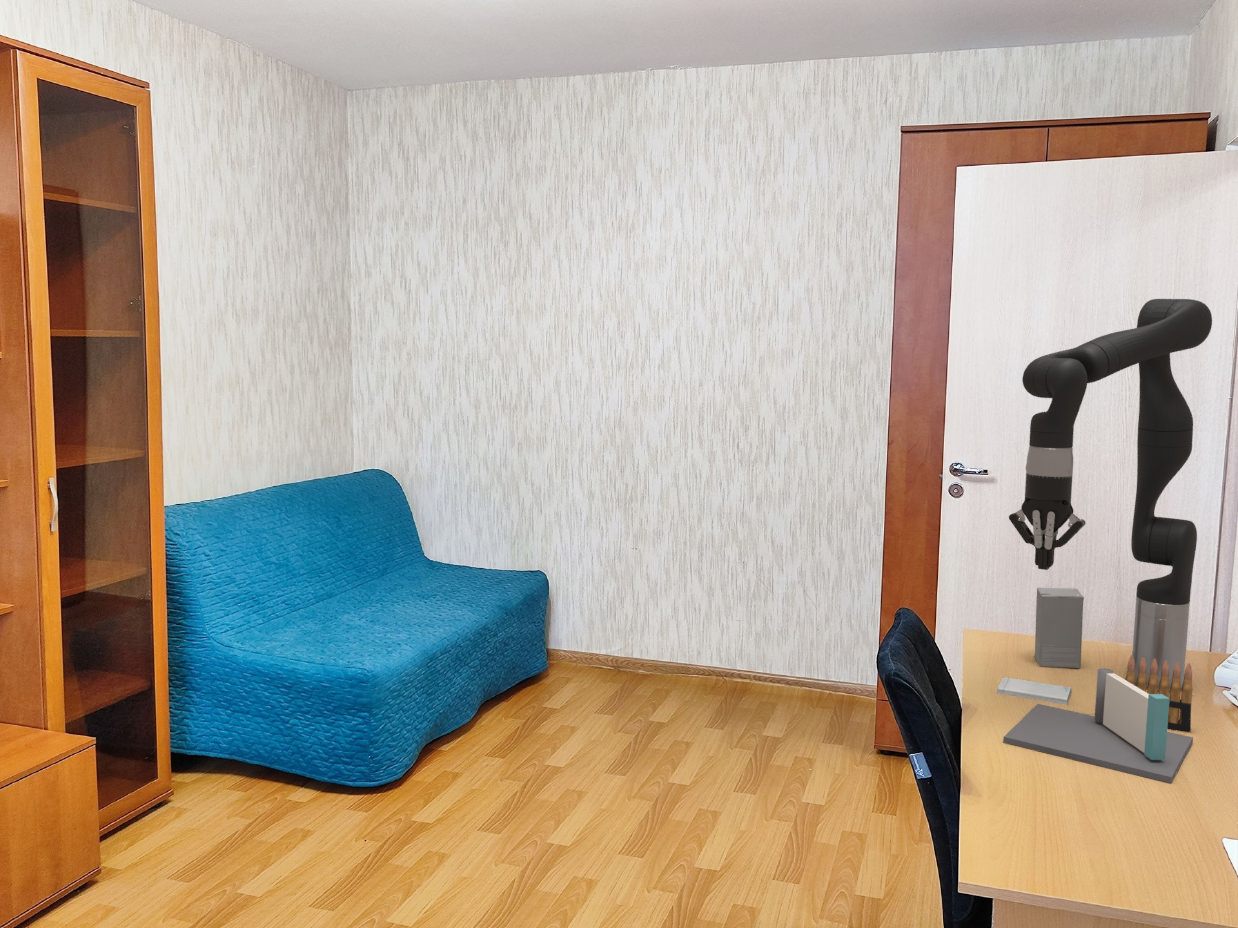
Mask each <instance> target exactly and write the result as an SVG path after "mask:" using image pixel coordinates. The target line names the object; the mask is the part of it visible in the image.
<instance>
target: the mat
mask: <svg viewBox="0 0 1238 928" xmlns="http://www.w3.org/2000/svg"><path fill="white" fill-rule="evenodd" d="M1094 719H1095V715H1093V714H1092V715H1091V714H1087V713H1084V712H1078V711H1074V710H1069V709H1063V708H1059V707H1055V706H1050V705H1046V704H1040V703H1037V704H1036V705H1034V707H1033V708H1031V710H1030V711H1029V712H1028V713H1027V714H1026V715H1025V716H1024V717H1023V718H1022V719H1020V720H1019V721H1018V722H1017V723H1016V724H1015V725H1014V726H1013V727H1011V729H1010V730H1009V731H1008V732H1007V733H1005V735H1004V736H1003V743H1005V744H1009V745H1013V746H1016V747H1020V748H1024V749H1028V748H1029V750H1033V751H1037V752H1041V753H1045V754H1049V755H1053V756H1057V757H1061V758H1065V759H1068V760H1069V759H1070V760H1073V761H1077V762H1082V763H1086V764H1090V765H1094V766H1099V767H1102V768H1107V769H1110V770H1114V771H1118V772H1123V773H1127V774H1132V775H1134V776H1139V777H1144V778H1147V779H1151V780H1155V781H1159V782H1163V783H1168V784H1172V782H1173V780H1174V779H1175V777H1176V775H1177V773H1178V772H1179V770H1180V767H1181V766H1182V764H1183V762H1184V759H1185V758H1186V757H1187V754H1188V752H1189V751H1190V749H1191V747H1192V746H1193V743H1194V742H1193V741H1194V736H1188V735H1185V734H1179V733H1175V732H1170V731H1167V740H1166V753H1165V760H1151V759H1149V758H1148V757H1147V756H1145V755H1144V753H1143V752H1142V751H1141V750H1139V749H1138V748H1136V747H1135V746H1133V745H1132V744H1131V743H1129V742H1128V741H1126V740H1125V739H1123V738H1122V737H1121V736H1119V735H1118V734H1116V733H1115V732H1114V731H1112V730H1111V729H1109V728H1108V727H1106V726H1105V725H1104V724H1103V723H1100V722H1097V721H1095V720H1094Z"/></svg>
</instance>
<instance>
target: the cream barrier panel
mask: <svg viewBox="0 0 1238 928" xmlns="http://www.w3.org/2000/svg"><path fill="white" fill-rule="evenodd" d="M1096 676H1097V677H1096V690H1095V691H1096V692H1095V693H1096V694H1095V705H1094V707H1095V710H1094V716H1095V719H1094V720H1095V721H1097V722H1100V723H1103V724H1104V725H1105V726H1106V727H1108V728H1109V729H1111V730H1112V731H1114V732H1115V733H1116V734H1118V735H1119V736H1121V737H1122V738H1123V739H1125V740H1126V741H1128V742H1129V743H1131V744H1132V745H1133V746H1135V747H1136V748H1138V749H1139V750H1141V751H1142V752H1143V753H1144V755H1145V756H1147V757H1148V758H1149V759H1151V760H1165V753H1166V740H1167V732H1168V729H1167V727H1168V714H1169V701H1170V698H1168V697H1166V696H1164V695H1163V694H1148V693H1147V691H1146V692H1145V691H1143V690H1141V689H1140V688H1138V687H1136V685H1135V686H1134V685H1133V684H1131V683H1129V682H1128V681H1126V680H1125V678H1123V677H1121V676H1119V675H1118V674H1116V673H1114V671H1113V670H1111V669H1109V668H1104V667H1103V668H1101V667H1100V668H1097V675H1096Z"/></svg>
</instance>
